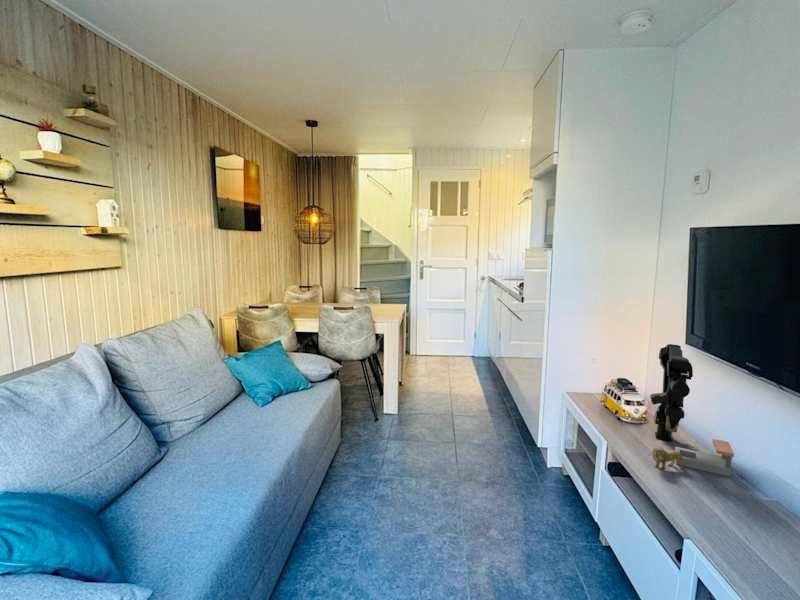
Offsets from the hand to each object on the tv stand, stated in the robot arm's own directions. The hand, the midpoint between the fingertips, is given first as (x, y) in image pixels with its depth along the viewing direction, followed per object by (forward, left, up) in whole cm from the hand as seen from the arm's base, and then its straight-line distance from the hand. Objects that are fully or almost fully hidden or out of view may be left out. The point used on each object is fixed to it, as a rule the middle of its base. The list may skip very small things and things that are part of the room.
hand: (671, 426), depth 172 cm
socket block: (+3, +11, -12) cm, 16 cm away
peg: (0, 0, -2) cm, 2 cm away
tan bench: (+3, +17, -12) cm, 21 cm away
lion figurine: (+14, -1, -12) cm, 19 cm away
